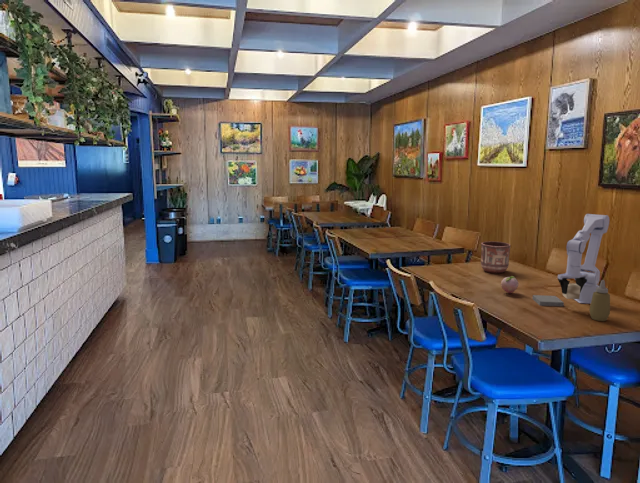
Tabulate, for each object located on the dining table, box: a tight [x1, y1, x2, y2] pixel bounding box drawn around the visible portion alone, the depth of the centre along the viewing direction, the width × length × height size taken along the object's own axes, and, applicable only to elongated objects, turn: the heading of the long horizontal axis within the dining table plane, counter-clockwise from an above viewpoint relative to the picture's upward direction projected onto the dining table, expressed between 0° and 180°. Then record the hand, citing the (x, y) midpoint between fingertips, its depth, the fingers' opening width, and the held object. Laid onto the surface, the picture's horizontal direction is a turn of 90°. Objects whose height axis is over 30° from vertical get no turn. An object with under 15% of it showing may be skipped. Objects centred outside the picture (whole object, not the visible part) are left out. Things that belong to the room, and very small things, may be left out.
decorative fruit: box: [500, 275, 519, 294], centre depth 244 cm, size 9×8×10 cm
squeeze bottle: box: [588, 279, 611, 322], centre depth 204 cm, size 8×8×18 cm
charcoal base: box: [532, 294, 565, 307], centre depth 230 cm, size 11×11×2 cm
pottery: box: [480, 240, 511, 274], centre depth 292 cm, size 18×18×18 cm
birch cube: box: [562, 282, 580, 300], centre depth 218 cm, size 6×6×6 cm
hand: (571, 293), depth 218 cm, fingers closed on birch cube, 7 cm apart
